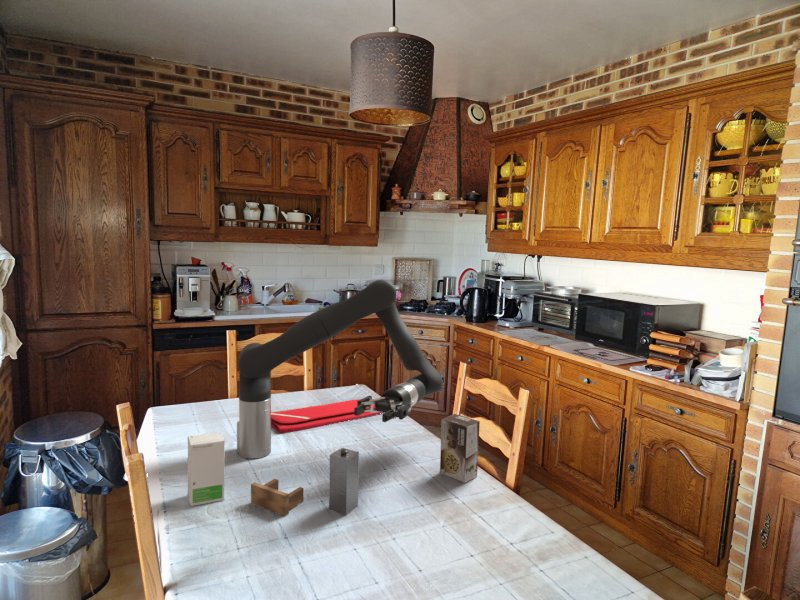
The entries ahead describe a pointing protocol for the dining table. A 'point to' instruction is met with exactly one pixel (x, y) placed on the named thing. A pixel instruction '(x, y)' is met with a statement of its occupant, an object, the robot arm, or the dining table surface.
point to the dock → (275, 497)
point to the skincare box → (206, 468)
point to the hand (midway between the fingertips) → (369, 415)
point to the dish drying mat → (315, 416)
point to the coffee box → (459, 447)
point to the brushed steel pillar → (343, 481)
